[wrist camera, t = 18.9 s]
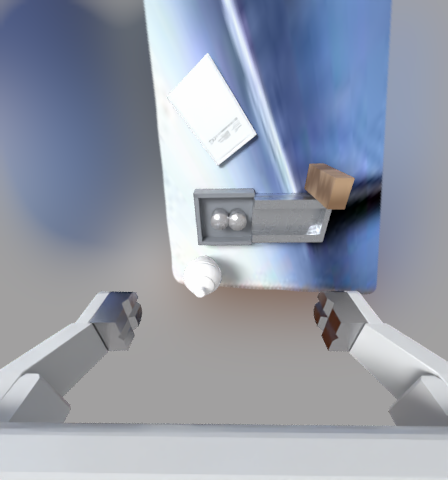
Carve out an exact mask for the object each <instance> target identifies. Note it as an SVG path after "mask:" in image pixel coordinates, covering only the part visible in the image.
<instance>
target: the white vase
mask: <svg viewBox="0 0 448 480" xmlns="http://www.w3.org/2000/svg"><path fill="white" fill-rule="evenodd" d="M183 279H184V283H185V285H186V287H187V288H188V289H189V290H190V291H191V292H192V293H194V294H195V295H196V296H197V297H204V296H205V295H208V294H210V293H211V292H213V291H215V290H216V289H217V288H218V286H219V285H220V283H221V279H222V274H221V270H220V268H219V266H218V265H217V263H216V262H215V261H214V260H213V259H211V258H210V257H207V255H205V256H201V257H198V258H196V259H194V260H192V261H191V262H190V263H189V264H188V265H187V266H186V268H185V270H184V273H183Z"/></svg>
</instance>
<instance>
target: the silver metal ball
mask: <svg viewBox="0 0 448 480" xmlns="http://www.w3.org/2000/svg"><path fill="white" fill-rule="evenodd" d="M228 218H229V226H230V228H231V229H233V230H236V231H239V230H242V229H244V228H245V226H246V224H247V221H246V216H245V212H244V211H243V210H242V209H239V208H235V209H232V210H231V211H230V212H229V216H228Z"/></svg>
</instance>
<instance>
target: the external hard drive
mask: <svg viewBox="0 0 448 480" xmlns="http://www.w3.org/2000/svg"><path fill="white" fill-rule="evenodd" d="M167 99H168V100H169V101H170V103H171V104H172V105H173V107H174V108H175V109H176V111H177V112H178V113H179V115H180V116H181V117H182V119H183V120H184V121H185V123H186V124H187V125H188V127H189V128H190V129H191V131H192V132H193V134H194V135H195V136H196V138H197V139H198V140H199V142H200V143H201V144H202V146H203V147H204V148H205V150H206V151H207V152H208V154H209V155H210V156H211V158H212V159H213V160H214V162H215V163H216V164H217V166H218V165H220V164H221V163H222V162H223V161H225V160H226V159H227V158H228V157H230V156H231V155H232V154H233V153H234V152H236V151H237V150H238V149H239V148H241V147H242V146H243V145H244V144H246V143H247V142H248V141H249V140H251V139H252V138H253V137H254V136H255V135H257V134H256V132H255V130H254V129H253V127H252V125H251V124H250V122H249V120H248V119H247V117H246V115H245V114H244V112H243V110H242V109H241V107H240V105H239V103H238V102H237V100H236V98H235V97H234V95H233V93H232V92H231V90H230V88H229V87H228V85H227V83H226V82H225V80H224V78H223V77H222V75H221V73H220V72H219V70H218V68H217V67H216V65H215V63H214V62H213V60H212V58H211V57H210V55H209V53H207V54H206V55H205V56H204V57H203V58H202V60H201V61H200V62H199V63H198V64H197V65H196V66H195V67H194V68H193V69H192V70H191V71H190V72H189V73H188V74H187V75H186V77H185V78H184V79H183V80H182V81H181V82H180V83H179V84H178V85H177V86H176V87H175V88H174V89H173V90H172V91H171V92H170V94H169V95H168V96H167Z"/></svg>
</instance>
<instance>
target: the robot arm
mask: <svg viewBox="0 0 448 480" xmlns="http://www.w3.org/2000/svg"><path fill="white" fill-rule="evenodd" d="M137 299H138V296H137V294H136V292H114V291H112V292H106V291H105V292H104V291H101V292H99V293H97V294H96V296H95V297H94V298H93V300H92V301H91V302H90V304H89V305H88V306H87V308H86V309H85V311H84V312H83V313H82V315H81V316H80V317H79V319H78V320H77V321H76V323H71V324H70V325H68V326H67V327H65V328H63V329H62V330H60V331H59V332H57V333H56V334H54V335H53V336H51V337H49V338H48V339H46V340H45V341H43V342H42V343H40V344H39V345H37V346H36V347H34V348H32V349H31V350H30V351H28V352H27V353H25V354H23V355H22V356H20V357H19V358H17V359H15V360H14V361H12V362H11V363H9V364H8V365H6V366H5V367H3V368H2V369H0V480H448V362H447V361H446V360H444V359H442V358H441V357H439V356H438V355H436V354H435V353H433V352H431V351H430V350H428V349H427V348H425V347H423V346H422V345H420V344H419V343H417V342H415V341H413V340H412V339H411V338H409V337H408V336H406V335H404V334H403V333H401V332H400V331H398V330H396V329H395V328H393V327H392V326H390V325H389V324H383V323H382V321H381V320H380V319H379V317H378V316H377V315H376V313H375V312H374V311H373V310H372V309H371V307H370V306H369V304H368V303H367V302H366V300H365V299H364V298H363V297H362V295H361V294H360V293H359V292H357V291H321V292H320V293H319V294H318V300H319V302H318V303H316V304H315V306H314V318H315V322H316V324H317V326H318V327H319V328H320V329H321V330H323V332H322V338H323V340H324V342H325V345H326V347H327V349H328V351H349V353H350V354H351V355H352V356H353V357H354V358H355V359H356V360H357V361H358V362H359V363H361V364H362V365H363V367H365V368H366V369H367V370H368V371H369V372H370V373H371V374H372V375H373V376H374V377H375V378H376V379H377V380H378V381H379V382H380V383H381V384H382V385H383V386H384V387H385V388H386V389H387V390H388V391H389V392H390V393H391V394H392V395H393V396H394V397H395V398H396V399H397V401H396V402H395V403H394V404H393V405H392V406H391V407H390V408H389V411H388V412H389V413H390V415H391V417H392V419H393V421H394V423H395V424H396V426H354V425H351V426H350V425H348V426H347V425H252V424H251V425H250V424H247V425H246V424H147V423H144V424H143V423H64V421H65V419H66V417H67V415H68V413H69V411H70V410H71V407H70V404H69V403H68V402H67V401H66V400H64V398H63V396H64V395H65V394H66V393H67V392H68V391H69V390H70V389H71V388H72V387H73V386H74V385H75V384H76V383H77V382H78V381H79V380H80V379H81V378H82V377H83V376H84V375H85V374H86V373H87V372H88V371H89V370H90V369H91V368H92V367H93V366H94V365H95V364H96V363H97V362H98V361H99V360H100V359H101V358H102V357H103V356H104V355H105V354H106V353H107V352H108V351H117V350H128V349H129V347H130V345H131V342H132V340H133V338H134V332H133V330H134V329H136V328H137V327H138V326H139V324H140V321H141V317H142V308H141V305H140V304H139V303H138V302H136V301H137Z"/></svg>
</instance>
